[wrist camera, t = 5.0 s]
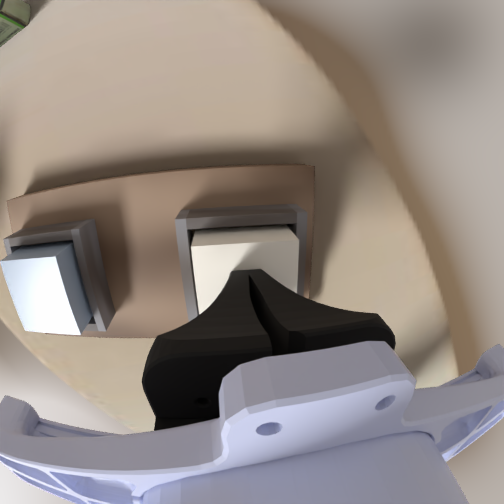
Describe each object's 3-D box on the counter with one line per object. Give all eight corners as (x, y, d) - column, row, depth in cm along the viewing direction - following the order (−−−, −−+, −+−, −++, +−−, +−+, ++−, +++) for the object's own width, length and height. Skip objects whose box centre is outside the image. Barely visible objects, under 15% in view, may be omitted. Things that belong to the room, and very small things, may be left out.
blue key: (95, 311, 14) (80, 335, 12) (42, 309, 14) (25, 330, 11) (77, 239, 13) (55, 256, 10) (22, 245, 12) (-1, 261, 10)
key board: (298, 310, 19) (315, 346, 16) (55, 319, 17) (33, 349, 14) (303, 164, 16) (328, 169, 12) (23, 194, 14) (-13, 208, 10)
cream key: (284, 302, 15) (294, 327, 13) (203, 308, 15) (202, 334, 13) (285, 224, 14) (299, 240, 11) (195, 229, 13) (191, 246, 11)
